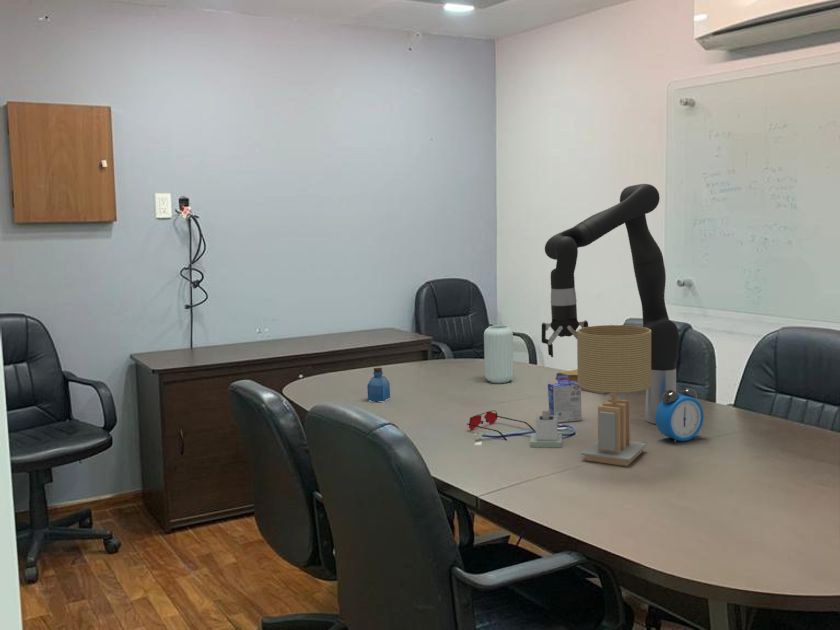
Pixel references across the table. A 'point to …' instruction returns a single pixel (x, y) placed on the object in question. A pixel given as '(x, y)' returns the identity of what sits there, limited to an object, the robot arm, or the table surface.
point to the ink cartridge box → (565, 400)
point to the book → (574, 377)
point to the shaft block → (545, 443)
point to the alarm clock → (679, 414)
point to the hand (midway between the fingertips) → (566, 356)
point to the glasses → (489, 418)
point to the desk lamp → (614, 384)
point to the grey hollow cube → (546, 428)
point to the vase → (498, 354)
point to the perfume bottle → (378, 386)
